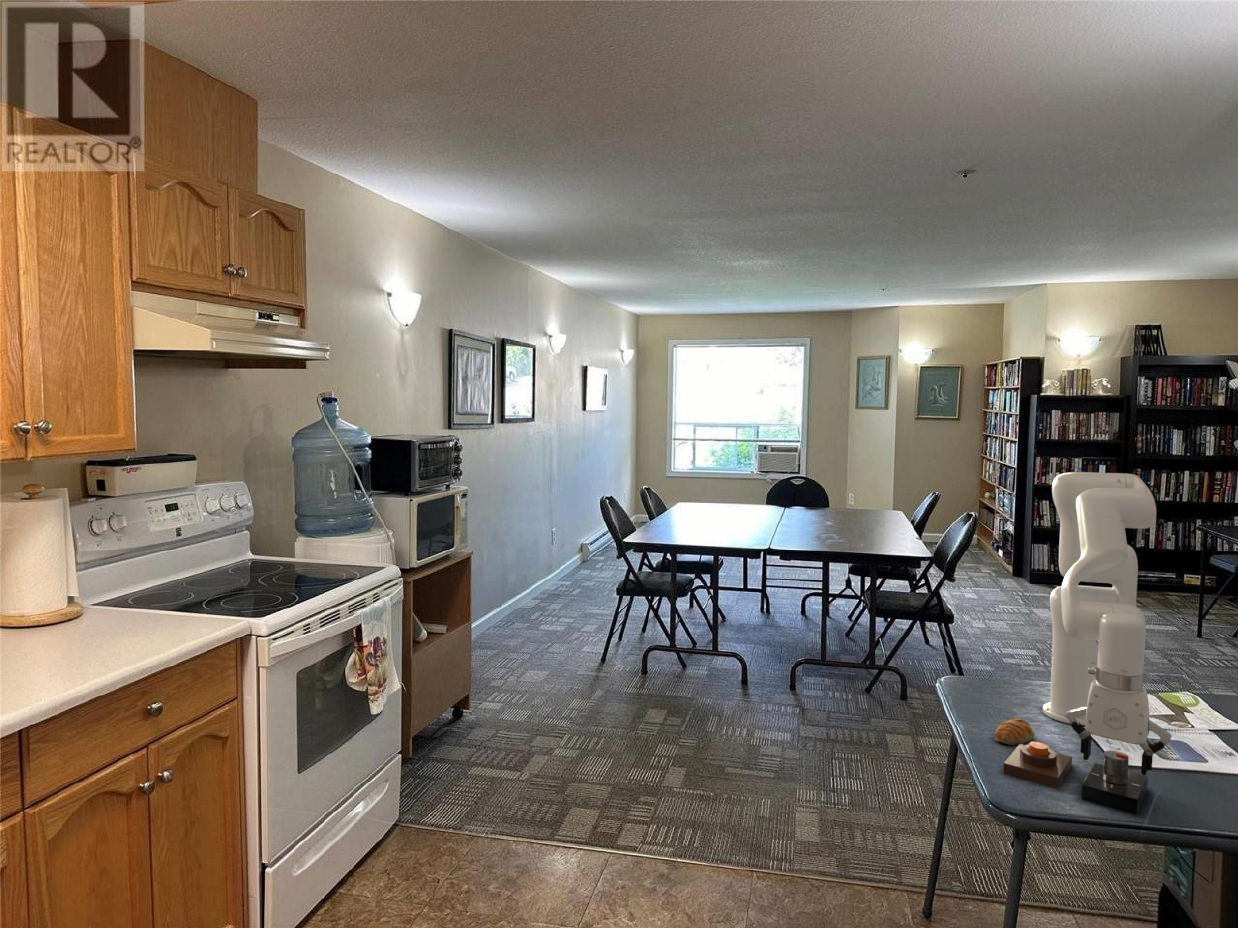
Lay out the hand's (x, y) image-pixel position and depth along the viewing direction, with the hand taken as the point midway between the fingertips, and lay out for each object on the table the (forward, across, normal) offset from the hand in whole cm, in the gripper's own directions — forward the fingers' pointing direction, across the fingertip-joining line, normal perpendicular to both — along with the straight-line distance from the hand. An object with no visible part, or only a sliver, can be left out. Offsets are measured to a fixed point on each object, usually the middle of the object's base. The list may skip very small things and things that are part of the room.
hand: (1115, 764), depth 157 cm
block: (+6, -14, +1) cm, 15 cm away
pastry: (+6, -22, +14) cm, 27 cm away
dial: (+3, 0, -1) cm, 3 cm away
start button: (+2, -14, +1) cm, 14 cm away
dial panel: (+6, 0, -1) cm, 6 cm away
